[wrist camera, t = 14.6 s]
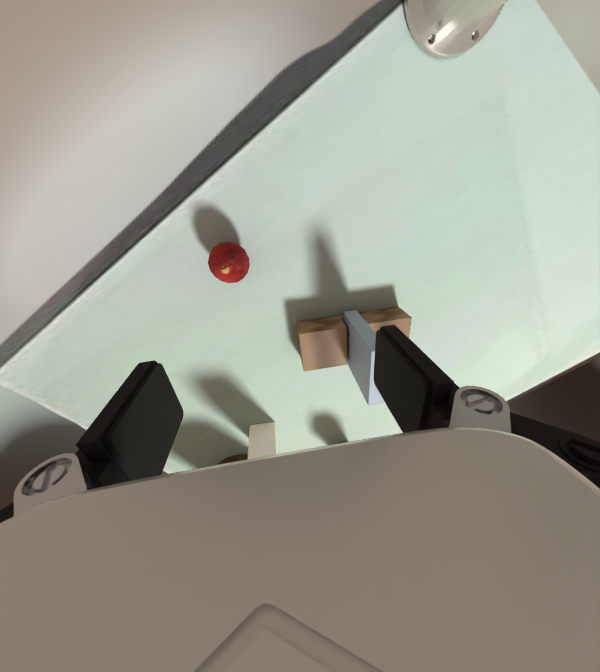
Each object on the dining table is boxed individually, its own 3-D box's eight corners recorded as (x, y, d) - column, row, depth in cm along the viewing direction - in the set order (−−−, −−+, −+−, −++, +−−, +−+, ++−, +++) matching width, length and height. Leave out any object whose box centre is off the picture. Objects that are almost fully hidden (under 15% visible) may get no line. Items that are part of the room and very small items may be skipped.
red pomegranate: (226, 230, 38) (217, 237, 31) (257, 254, 40) (256, 266, 33) (206, 260, 40) (194, 273, 33) (237, 282, 42) (231, 298, 35)
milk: (277, 438, 62) (283, 545, 43) (252, 441, 61) (247, 552, 42) (274, 420, 59) (280, 528, 40) (249, 424, 58) (242, 535, 39)
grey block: (356, 309, 46) (388, 349, 34) (355, 354, 51) (383, 403, 39) (343, 311, 46) (371, 351, 34) (343, 356, 51) (368, 405, 39)
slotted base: (398, 306, 48) (411, 317, 44) (394, 342, 52) (406, 355, 48) (296, 321, 47) (299, 334, 43) (300, 356, 51) (303, 371, 47)
